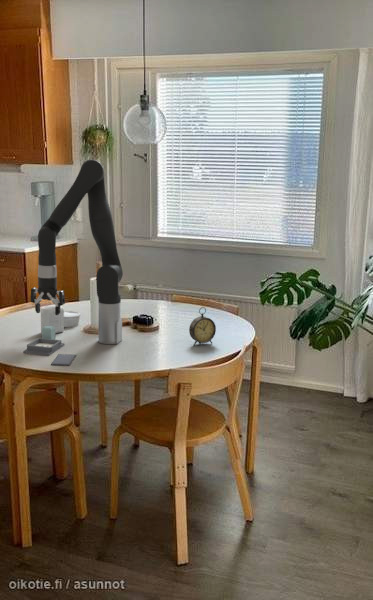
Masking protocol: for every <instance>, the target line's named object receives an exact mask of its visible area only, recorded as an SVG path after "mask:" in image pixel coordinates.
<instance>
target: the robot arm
mask: <svg viewBox="0 0 373 600" xmlns="http://www.w3.org/2000/svg"><path fill="white" fill-rule="evenodd" d="M86 195H87V201H88V203H87V204H88V219H89V226H90V230H91V234H92V237H93V239H94V242H95V244H96V245H97V248H98V250H99V253H100V258H101V266H100V267H99V268H98V269H97V272H96V278H95V279H96V296H97V298H98V302H97V303H98V308H97V309H98V310H97V311H98V313H97V314H98V316H97V317H98V318H97V319H98V320H97V324H98V330H97V331H98V332H97V333H98V335H97V336H98V343H100V344H103V345H117V344H119V343H120V342H121V341H123V319H122V317H121V316H122V315H121V312H122V311H121V310H122V309H121V299H122V298H121V294H120V293H119V282H121V280H122V278H123V275H124V274H123V273H124V272H123V271H124V270H123V268H122V264H121V261H120V257H119V253H118V249H117V242H116V235H115V226H114V221H113V215H112V212H111V207H110V205H109V200H108V198H107V194H106V185H105V168H104V167H103V164H101V162H100V161H98V160H96V159H88V160H86V161H84V162H83V163H82V165H81V166H80V170H79V172H78V175H77V176H76V178H75V180H74V182H73V183H72V185H71V187H70V188H69V190H68V191H67V192H66V193H65V195H64V196H63V197H62V199H61V200H60V201H59V202H58V204H57V206H56V207H55V208H54V210H53V211H52V212H51V214H50V216H49V217H48V219H47V220H46V221H45V222H44V223H43V225H42V226H41V227H40V229H39V230H38V234H37V244H38V258H37V259H38V269H37V286H38V288H37V287H36V286H35V287H32V288H31V289H30V302H31V303H33V304H35V305H34V310H35V313H36V314H39V313H40V314H41V301H42V300H46V301H51V302H52V303H53V305H55V306H56V307H55V315H59V313H60V306H62V307H63V305H65V304H66V302H65V301H66V299H65V290H64V289H63V290H58V287H57V286H58V279H57V278H58V277H57V276H58V274H57V273H58V269H57V255H56V249H57V248H56V247H57V246H56V243H57V242H56V241H57V236H58V235H59V233H60V232H61V230H62V229H63V228H64V227H65V226H66V225H67V223H68V222H69V221H70V219H71V218H72V216H73V215H74V214H75V212H76V211H77V209H78V208H79V206H80V204H81V202H82V200H83V199H84V197H85V196H86ZM37 293H38V296H37Z"/></svg>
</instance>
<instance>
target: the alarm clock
mask: <svg viewBox="0 0 373 600" xmlns="http://www.w3.org/2000/svg"><path fill="white" fill-rule="evenodd" d="M202 309H204V310H205V311H204V312H203V313H201V312H200V311H201V310H202ZM206 312H207V308H206V307H204V306H202V307H200V308H199V309H198V313H199V314H200V316H197V317H195V318H194V319H193V320H191V323H190V325H189V331H188V333H189V335H190V337H191V339H192V340H193V341H194V343H193V344H192V346H193V347H195V345H196V344H197V343H199V344H207V343H209V342H210V344H213V341H212V340H213V338H214V337H215V335H216V331H217V330H216V329H217V327H216V324H215V322H214V320H213V319H211V318H209V317H206V316H204V314H205V313H206Z"/></svg>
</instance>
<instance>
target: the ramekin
mask: <svg viewBox="0 0 373 600" xmlns="http://www.w3.org/2000/svg"><path fill="white" fill-rule="evenodd" d="M80 317H81V313H80V312H77V311H75V310H74V311H73V310H64V328H72V327H76V325H77V326H78V325H79V323H80Z"/></svg>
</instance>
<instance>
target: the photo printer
mask: <svg viewBox="0 0 373 600" xmlns="http://www.w3.org/2000/svg"><path fill="white" fill-rule="evenodd" d="M55 307H56V306H55V304H50V305H45V306H43V307H40V334H41V335H42V328H43V327H45V326H54V327H55V334H57V333H64V331H65V327H64V311H65V310H64V309H65V308H64V307H63V305H62V306H60V313H59V315H55Z"/></svg>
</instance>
